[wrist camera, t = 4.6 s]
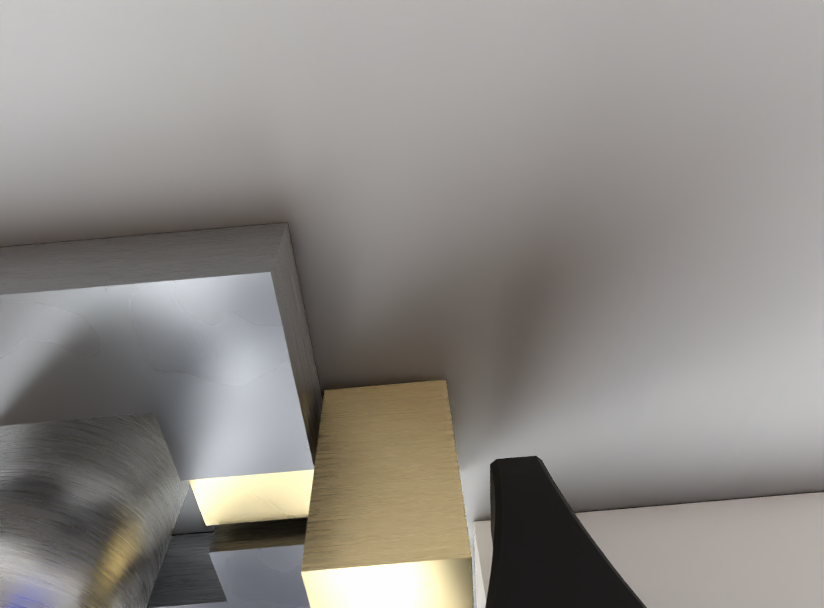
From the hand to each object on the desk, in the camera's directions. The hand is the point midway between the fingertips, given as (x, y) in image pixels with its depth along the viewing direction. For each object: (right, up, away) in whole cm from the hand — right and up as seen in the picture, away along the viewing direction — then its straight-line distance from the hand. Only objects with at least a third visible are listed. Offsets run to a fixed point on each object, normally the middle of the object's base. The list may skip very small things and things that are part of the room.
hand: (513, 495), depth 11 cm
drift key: (-4, +1, +1) cm, 4 cm away
